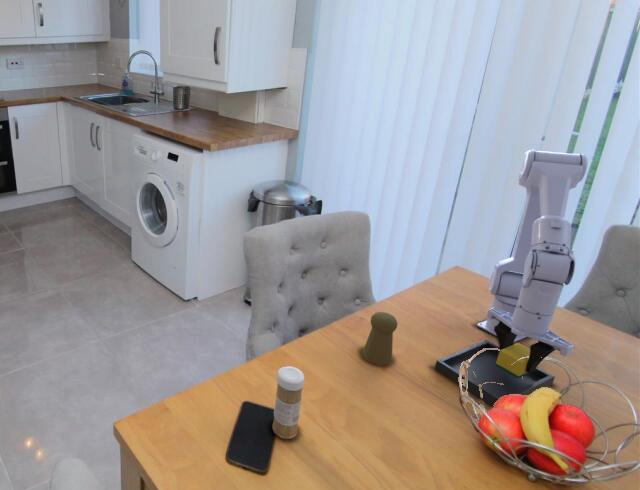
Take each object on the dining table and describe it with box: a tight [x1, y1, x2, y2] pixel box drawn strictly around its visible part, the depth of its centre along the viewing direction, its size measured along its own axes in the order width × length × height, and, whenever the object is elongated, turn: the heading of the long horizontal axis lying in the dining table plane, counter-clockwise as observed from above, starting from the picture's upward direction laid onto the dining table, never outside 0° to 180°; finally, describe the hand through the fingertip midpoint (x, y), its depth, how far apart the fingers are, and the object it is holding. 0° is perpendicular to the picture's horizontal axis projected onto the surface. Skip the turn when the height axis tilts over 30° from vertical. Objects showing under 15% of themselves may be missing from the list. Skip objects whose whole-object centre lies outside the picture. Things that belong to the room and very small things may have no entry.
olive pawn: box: [362, 311, 398, 367], centre depth 107 cm, size 6×6×11 cm
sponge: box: [495, 342, 536, 378], centre depth 99 cm, size 6×4×4 cm
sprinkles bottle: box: [271, 365, 305, 440], centre depth 88 cm, size 5×5×14 cm
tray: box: [434, 339, 556, 407], centre depth 101 cm, size 17×14×2 cm
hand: (516, 363), depth 100 cm, fingers closed on sponge, 4 cm apart
